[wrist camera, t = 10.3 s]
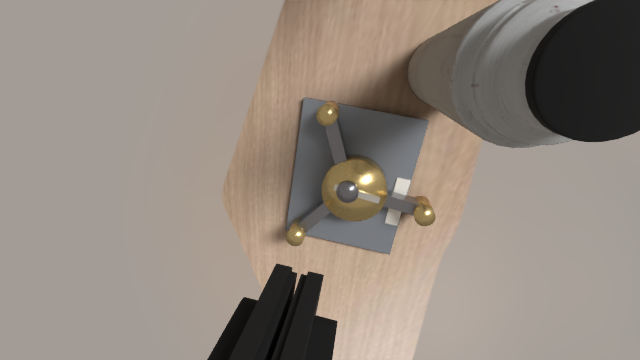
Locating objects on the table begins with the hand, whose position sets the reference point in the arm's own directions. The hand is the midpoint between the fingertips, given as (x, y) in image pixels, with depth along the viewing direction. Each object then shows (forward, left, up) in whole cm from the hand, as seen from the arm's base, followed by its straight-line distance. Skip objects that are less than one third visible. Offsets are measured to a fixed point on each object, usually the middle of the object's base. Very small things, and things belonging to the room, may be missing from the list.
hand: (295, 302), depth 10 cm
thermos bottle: (-9, +9, -32) cm, 35 cm away
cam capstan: (+7, +3, -31) cm, 32 cm away
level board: (+7, +1, -32) cm, 33 cm away
